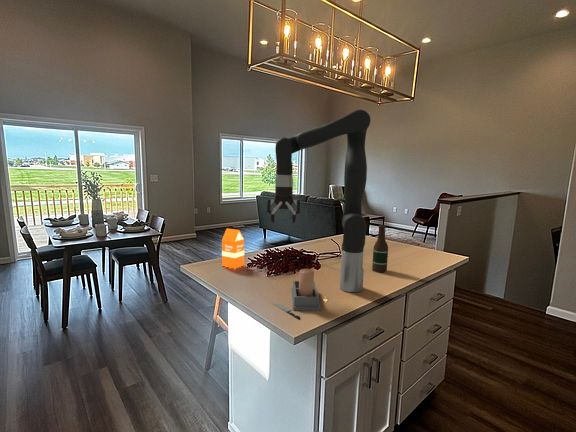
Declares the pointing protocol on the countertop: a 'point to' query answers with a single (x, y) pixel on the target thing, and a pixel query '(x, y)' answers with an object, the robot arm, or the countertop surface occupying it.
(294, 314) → the chef's knife
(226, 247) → the orange juice
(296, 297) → the box
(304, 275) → the tan cylinder
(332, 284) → the countertop surface
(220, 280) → the countertop surface
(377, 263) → the beer bottle
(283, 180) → the robot arm
